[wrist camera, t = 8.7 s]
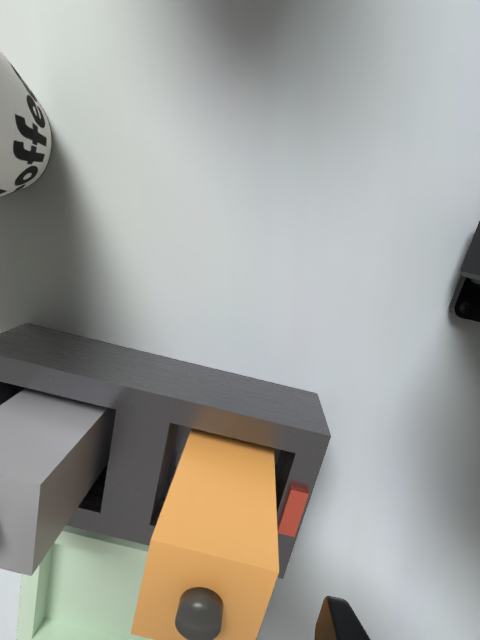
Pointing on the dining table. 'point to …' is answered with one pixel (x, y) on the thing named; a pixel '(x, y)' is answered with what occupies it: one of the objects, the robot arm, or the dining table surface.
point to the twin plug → (46, 470)
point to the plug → (212, 545)
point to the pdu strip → (167, 424)
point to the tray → (83, 589)
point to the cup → (20, 132)
